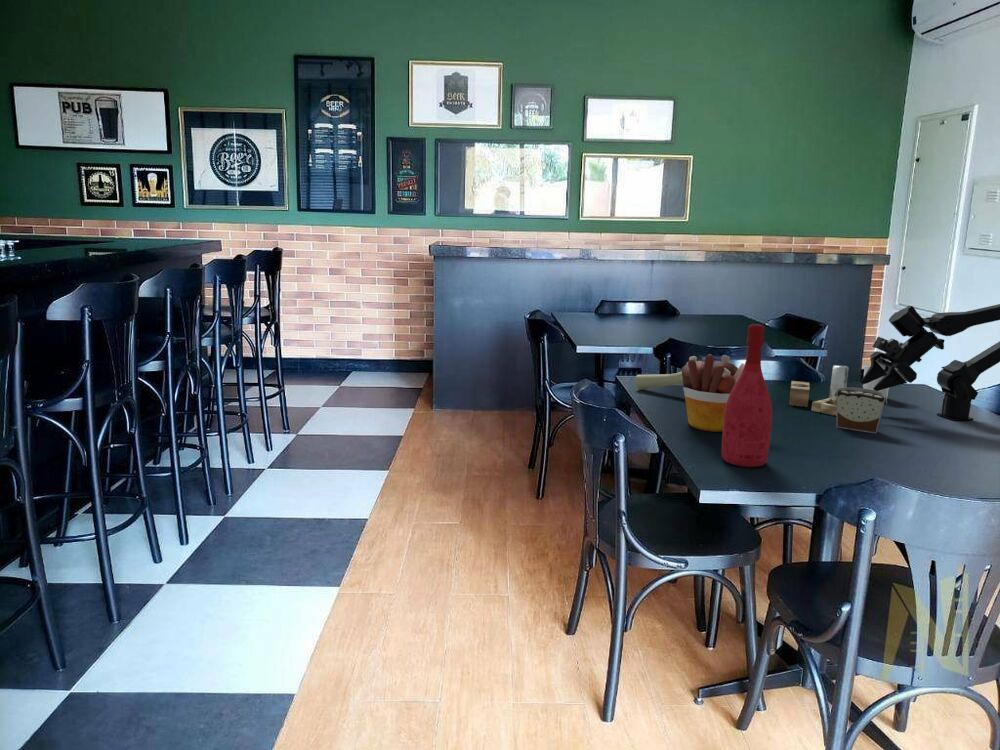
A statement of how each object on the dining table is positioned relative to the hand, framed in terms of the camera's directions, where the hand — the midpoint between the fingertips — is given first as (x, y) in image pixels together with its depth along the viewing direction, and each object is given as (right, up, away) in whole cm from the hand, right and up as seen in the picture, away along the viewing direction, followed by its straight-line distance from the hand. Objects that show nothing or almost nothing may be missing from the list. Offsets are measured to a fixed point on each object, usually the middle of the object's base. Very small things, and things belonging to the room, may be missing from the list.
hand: (867, 386), depth 205 cm
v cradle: (-10, -7, +3) cm, 13 cm away
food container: (-10, -11, -15) cm, 21 cm away
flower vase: (-46, -4, +14) cm, 49 cm away
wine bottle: (-50, -16, -46) cm, 70 cm away
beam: (-14, -5, +14) cm, 20 cm away
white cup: (+13, -4, +22) cm, 26 cm away
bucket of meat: (-49, -10, -18) cm, 53 cm away
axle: (-8, -7, +2) cm, 11 cm away
